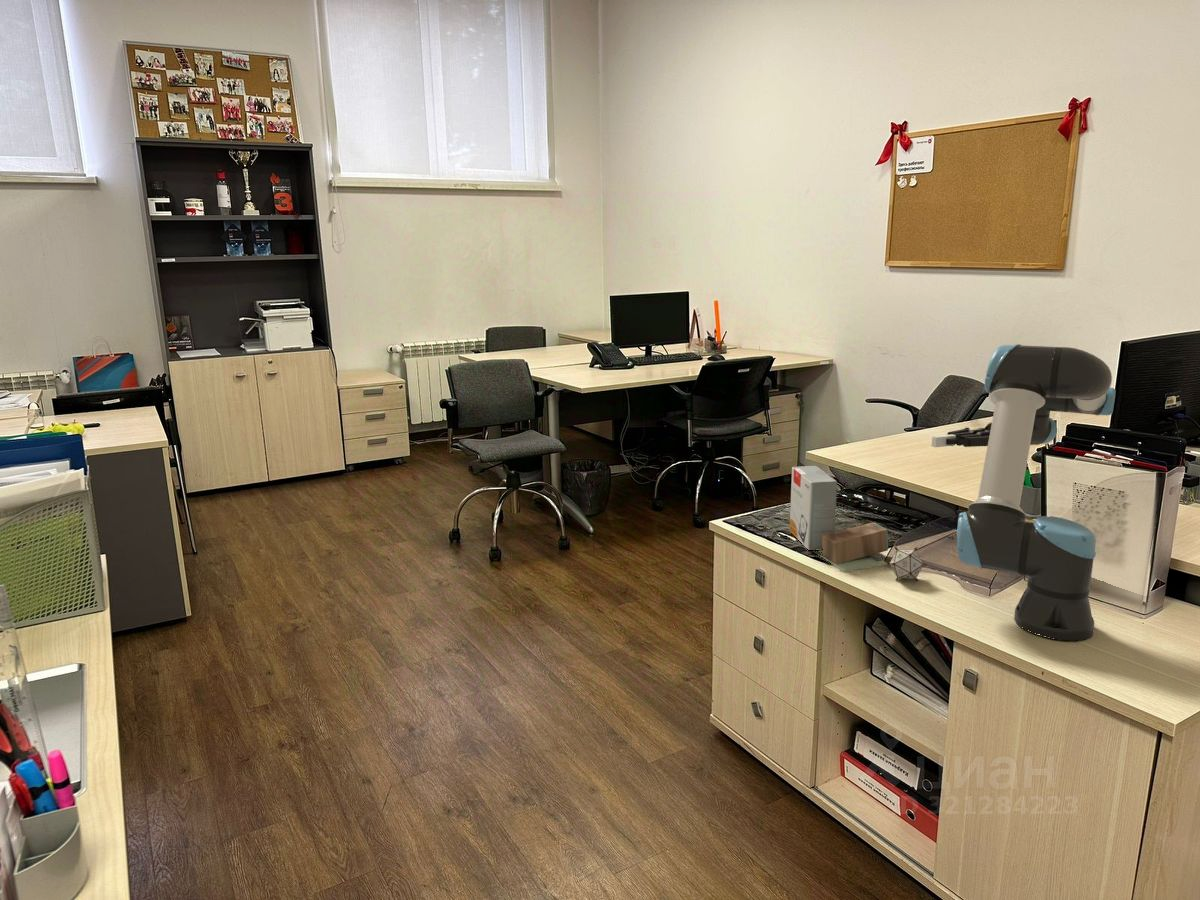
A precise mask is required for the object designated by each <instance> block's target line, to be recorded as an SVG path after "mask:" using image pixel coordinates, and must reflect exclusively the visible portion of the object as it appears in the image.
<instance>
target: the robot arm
mask: <svg viewBox="0 0 1200 900" xmlns="http://www.w3.org/2000/svg"><path fill="white" fill-rule="evenodd" d="M985 373H986V375H985V378H984V391H985V392H986V393H988V394H989V400H990V401H991V402H992V404H993V405H994V411H993V416H992V421H991V422H989V423H987V424H986V425H985V427H979V428H977V429H970V427H964V428H963V429H962V428H961V429H957V430H953V431H948V432H947V433H946V434H943V435H942V434H941V435H932V438H931V447H932V448H943V447H954V446H959V447H960V446H963V447H964V448H972V447H973V448H974V447H975V448H976V447H986V453H985V458H984V463H983V467H982V468H983V470H982V472H981V480H980V485H979V490H978V495H977V499H976V500H974V501H973V502H971V503H969V505H968V508H967V512H966V511H964V512H960V513H958V520H957V529H956V530H957V531H956V533H957V534H956V536H957V537H956V539H957V540H956V541H957V544H956V545H957V555H958V559H959V561H961V563H962V564H964V565H967V566H971V567H976V568H979V569H981V570H982V569H986V570H990V571H991V570H992V571H996V572H1003V573H1008V574H1015V575H1019V576H1024V577H1027V584H1026V588H1025V590H1024V592H1023V593H1022V595H1021V597H1020V599H1019V601H1018V603H1017V605H1016V606H1015V610H1014V616H1013V620H1014V623H1016V624H1017V626H1019V625H1020V626H1021V627H1023V628H1024V629H1026V630H1029V631H1031V632H1033V633H1036V634H1040V635H1042V636H1046V637H1050V638H1054V639H1059V640H1058V641H1061V640H1070V641H1069V642H1076V641H1075V640H1080V641H1085V640H1088V639H1090V638H1091V637H1093V634H1094V632H1095V620H1094V617H1093V615H1092V609H1091V603H1090V599H1089V597H1090V591H1091V590H1090V589H1091V581H1092V573H1093V565H1094V560H1095V558H1096V555H1097V553H1096V543H1097V541H1096V540H1097V539H1096V536H1095V534H1094V532H1092V530H1091V529H1090V528H1088V527H1086V526H1084V525H1083V524H1081V523H1079V522H1077V521H1073V520H1070V519H1067V518H1062V517H1059V516H1052V515H1050V516H1048V515H1047V516H1046V515H1043V516H1038V517H1036V518H1035V520H1034V521H1033V522H1031V521H1030V522H1028V521H1026V513H1025V511H1024V510H1023V509H1022V508H1021V506H1020V505H1021V499H1022V494H1023V488H1024V482H1025V477H1026V473H1027V472H1026V471H1027V466H1028V459H1029V453H1030V449H1031V446H1039V445H1042V444H1043V445H1044V444H1047V443H1050V442H1052V441H1053V440H1054V439H1055V437H1056V436H1057V433H1058V428H1057V424H1056V421H1055V420H1054V419H1053V418H1051V417H1050V416H1051V415H1050V414H1051V412H1056V413H1057V412H1059V413H1060V412H1061V413H1071V414H1085V415H1095V416H1111V415H1112V414H1113V412H1114V405H1115V399H1116V392H1117V391H1116V389H1115V388H1114V387H1111V385H1112V382H1113V381H1112V379H1113V376H1112V371H1111V369H1110V367H1109V366H1108V364H1107V363H1106V362H1105V361H1104V360H1102V359H1101V358H1099V357H1097V356H1096V355H1094V354H1093V353H1090V352H1088V351H1084V350H1082V349H1079V348H1075V347H1067V346H1063V347H1062V346H1061V347H1060V346H1044V345H1043V346H1040V345H1022V344H1003V345H1000V346H998V347H997V348H996V349H995V350H994V351H993V352H992V355H991V357H990V359H989V363H988V366H987V369H986V372H985ZM1020 626H1019V627H1020ZM1021 627H1020V628H1021ZM1023 628H1022V629H1023ZM1024 629H1023V630H1024ZM1026 630H1025V631H1026ZM1033 633H1032V634H1033ZM1054 639H1053V640H1054ZM1084 639H1085V640H1084Z"/></svg>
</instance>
